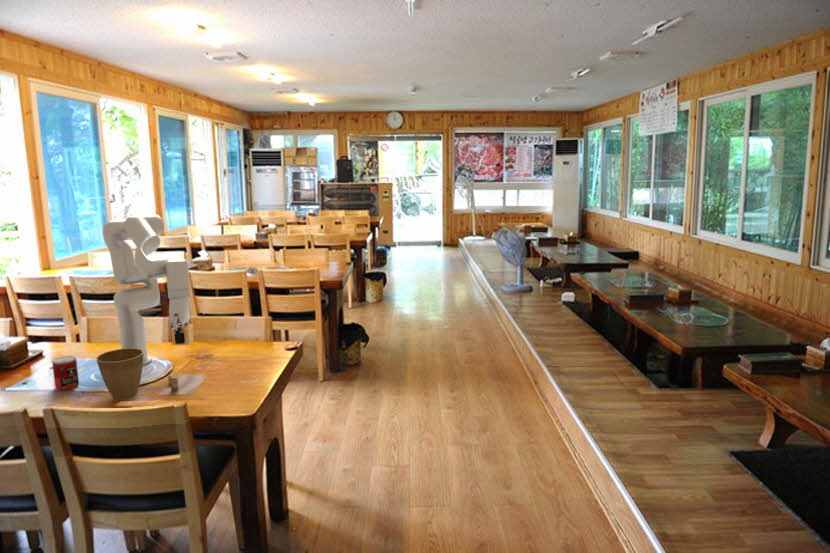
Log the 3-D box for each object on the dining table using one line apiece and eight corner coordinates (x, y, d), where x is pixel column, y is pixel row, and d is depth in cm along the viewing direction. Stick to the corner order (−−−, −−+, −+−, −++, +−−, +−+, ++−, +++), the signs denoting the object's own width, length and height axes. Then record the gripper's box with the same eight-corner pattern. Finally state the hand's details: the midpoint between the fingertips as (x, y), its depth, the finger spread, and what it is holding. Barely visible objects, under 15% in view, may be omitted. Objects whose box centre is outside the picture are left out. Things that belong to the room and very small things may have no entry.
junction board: (157, 399, 209) (155, 383, 208) (176, 378, 229) (175, 364, 228) (191, 398, 210) (190, 382, 209) (208, 378, 229) (207, 363, 228)
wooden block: (172, 345, 215) (170, 329, 214) (177, 340, 221) (176, 324, 220) (189, 344, 215) (187, 328, 214) (193, 340, 221) (192, 324, 220)
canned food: (62, 392, 215) (59, 363, 213) (51, 388, 220) (47, 359, 218) (83, 385, 222) (80, 357, 220) (72, 381, 226) (68, 354, 224)
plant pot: (123, 387, 220) (118, 346, 217) (156, 392, 216) (152, 350, 213) (90, 403, 206) (85, 359, 203) (125, 408, 202) (121, 363, 199)
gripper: (176, 288, 223) (179, 334, 226) (160, 298, 206) (164, 348, 209) (196, 287, 223) (199, 334, 227) (182, 297, 206) (186, 347, 210)
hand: (182, 340), depth 218 cm, fingers closed on wooden block, 5 cm apart
